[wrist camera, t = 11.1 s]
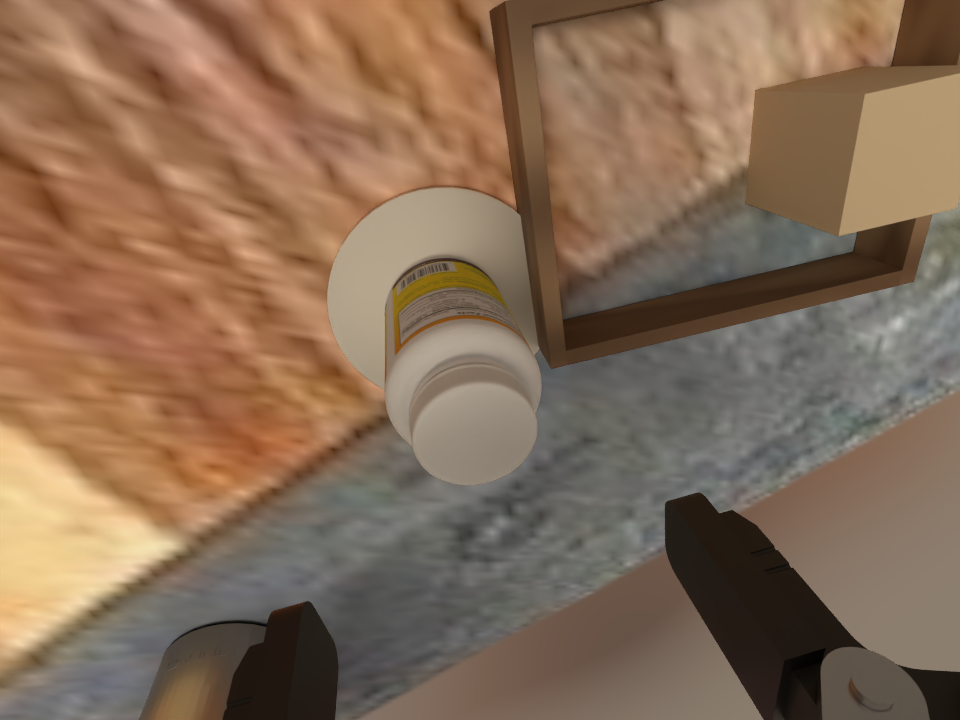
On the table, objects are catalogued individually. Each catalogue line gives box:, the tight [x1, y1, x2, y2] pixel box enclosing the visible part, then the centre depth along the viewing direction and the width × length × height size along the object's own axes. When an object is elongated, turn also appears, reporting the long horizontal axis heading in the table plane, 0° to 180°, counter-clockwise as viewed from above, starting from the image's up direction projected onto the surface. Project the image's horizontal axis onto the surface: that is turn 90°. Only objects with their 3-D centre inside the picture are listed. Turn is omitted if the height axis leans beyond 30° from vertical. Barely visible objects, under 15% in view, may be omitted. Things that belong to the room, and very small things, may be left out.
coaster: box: [327, 186, 540, 390], centre depth 25 cm, size 11×11×1 cm
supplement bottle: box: [385, 257, 542, 485], centre depth 20 cm, size 6×6×10 cm
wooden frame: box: [489, 0, 960, 369], centre depth 22 cm, size 15×19×3 cm
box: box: [745, 65, 960, 236], centre depth 21 cm, size 5×5×6 cm
